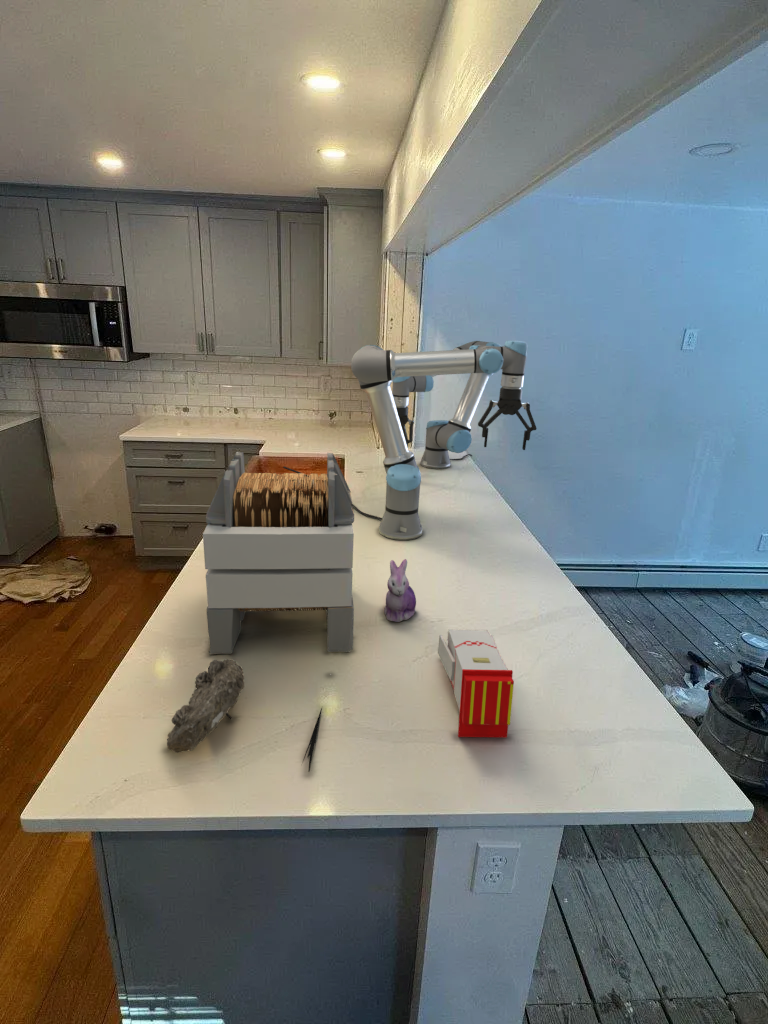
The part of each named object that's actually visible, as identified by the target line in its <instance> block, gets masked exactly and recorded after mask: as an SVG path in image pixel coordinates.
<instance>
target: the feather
mask: <svg viewBox="0 0 768 1024" xmlns="http://www.w3.org/2000/svg"><path fill="white" fill-rule="evenodd" d="M329 675H330V676H331V675H332V674H331V673H330V674H329ZM322 710H323V707H321V708H320V710H319V713H318V716H317V719H316V723H315V725H314V728H313V731H312V733H311V737H310V739H309V742H308V745H307V748H306V751H305V754H304V757H303V760H302V763H301V767H302V765H303V763H304V761H305V758H308V759H309V760H308V762H307V763H308V764H307V766H308V771H310V770H311V766H312V765H311V764H312V760H313V757H315V756H314V755H315V751H316V749H315V746H317V739H318V733H319V729H320V722H321V717H322V712H323V711H322ZM313 754H314V755H313ZM306 755H307V757H306Z"/></svg>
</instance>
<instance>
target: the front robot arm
mask: <svg viewBox="0 0 768 1024" xmlns="http://www.w3.org/2000/svg"><path fill="white" fill-rule="evenodd" d="M501 346H502V345H501ZM501 346H500V347H497V346H481V345H472V346H470V348H469V349H467V350H453V349H450V350H429V351H428V350H427V351H410V352H394V351H393V350H392V349H383V348H382V347H381V346H378V345H375V344H368V345H366V344H365V345H364V346H362V347H360V348H359V349H358V350H357V351H355V353H354V354H353V356H352V358H351V362H350V369H351V373H352V374H353V376H354V377H355V378H356V379H357V381H358V384H359V387H360V390H361V391H363V392H364V393H366V396H367V399H368V402H369V407H370V409H371V413H372V416H373V419H374V423H375V426H376V429H377V433H378V436H379V439H380V442H381V446H382V449H383V452H384V456H385V457H384V459H383V460H382V464H383V468H384V471H385V474H386V475H385V481H386V482H385V483H386V485H385V504H384V505H385V507H384V508H385V509H384V513H383V515H382V517H380V516H377V515H372V514H369V513H366V512H363V510H362V511H361V510H360V509H359V508H358V507H357V506H356V505H355V504H354V503H352V505H353V509H355V510H356V511H357V512H358V513H359V514H361V515H363V516H365V517H368V518H373V519H377V520H380V521H381V522H379V526H378V533H379V534H380V535H381V536H382V537H385V538H387V539H389V540H395V541H410V540H415V539H418V538H420V537H421V536H422V535H423V525H422V524H421V518H420V515H419V507H420V506H419V505H420V491H421V483H422V475H421V474H422V473H421V471H420V468H419V466H418V464H417V461H416V458H415V454H414V452H412V451H411V450H409V447H408V448H407V444H406V441H405V437H404V434H403V430H402V427H401V423H400V419H399V416H398V412H397V409H396V405H395V402H394V398H393V395H392V388H391V386H392V384H393V380H394V379H395V378H396V377H409V376H428V375H436V376H447V375H464V374H465V375H466V374H471V373H487V374H493V373H494V374H496V373H497V372H499V371H500V370H501V379H500V386H501V387H500V388H499V396H498V401H494V400H493V399H490V400H489V402H488V406H487V408H486V409H485V411H484V413H483V414H482V416H481V418H480V419H479V421H478V422H477V426H478V427H480V428H482V431H481V437H482V438H484V444H483V448H487V447H488V438H489V437H488V436H489V428H488V427H489V426H490V425H491V424H492V423H493V422H494V421H496V419H497V418H498V417H500V416H501V415H504V416H507V415H508V416H514V415H516V417H517V418H518V419H519V421H520V422H521V424H522V425H523V426H524V428H525V429H526V430H524V433H523V440H522V450H523V451H526V447H527V442H528V441H530V440H531V434H532V432H533V431H537V429H538V428H537V426H536V423H535V420H534V418H533V415H532V412H531V405H530V402H528V401H527V402H522V396H523V389H522V388H523V387H524V379H525V369H526V363H527V357H528V343H527V342H526V341H521V340H506V341H505V343H504V345H503V346H502V347H501ZM494 374H493V375H494ZM496 406H497V407H498V409H497V410H496V412H495V413H493V415H492V416H491V417H489V419H488V420H486V419H487V418H488V416H489V414H490V413H491V411H492V409H493V408H495V407H496ZM522 407H523V409H524V410H525V412H526V414H527V418H528V420H529V422H530V423H529V424H530V425H529V424H528V423H527V421H526V419H525V418H524V416H523V415H522V414H521V413H520V410H521V408H522ZM282 468H283V469H284V470H287V471H291V472H292V473H302V472H301V471H298V470H295V469H293V468H290V467H287V466H283V467H282ZM306 477H307V474H306ZM308 477H309V474H308Z"/></svg>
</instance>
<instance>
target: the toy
mask: <svg viewBox="0 0 768 1024" xmlns="http://www.w3.org/2000/svg"><path fill="white" fill-rule="evenodd" d="M446 640H447V643H446V641H445V639H444V636H443V635H442V634H439V637H438V646H437V656H438V657H439V659H440V661H441V663H442V666H443V668H444V670H445V672H446V674H447V677H448V679H449V681H450V684H451V687H452V690H453V693H454V697H455V701H456V705H457V708H458V711H459V714H458V715H459V716H458V730H457V731H458V732H457V737H458V738H508V731H509V726H510V725H511V717H512V707H513V697H514V696H513V695H514V684H515V680H514V679H513V673H514V671H513V670H512V669H508V667H507V665H506V662H505V661H504V659H503V658H502V655H501V653H500V651H499V649H498V647H497V643H496V639H495V637H494V635H493V634H491V632H490V631H489V629H467V628H466V629H465V628H463V629H461V628H460V629H459V628H448V630H447V639H446Z"/></svg>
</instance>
